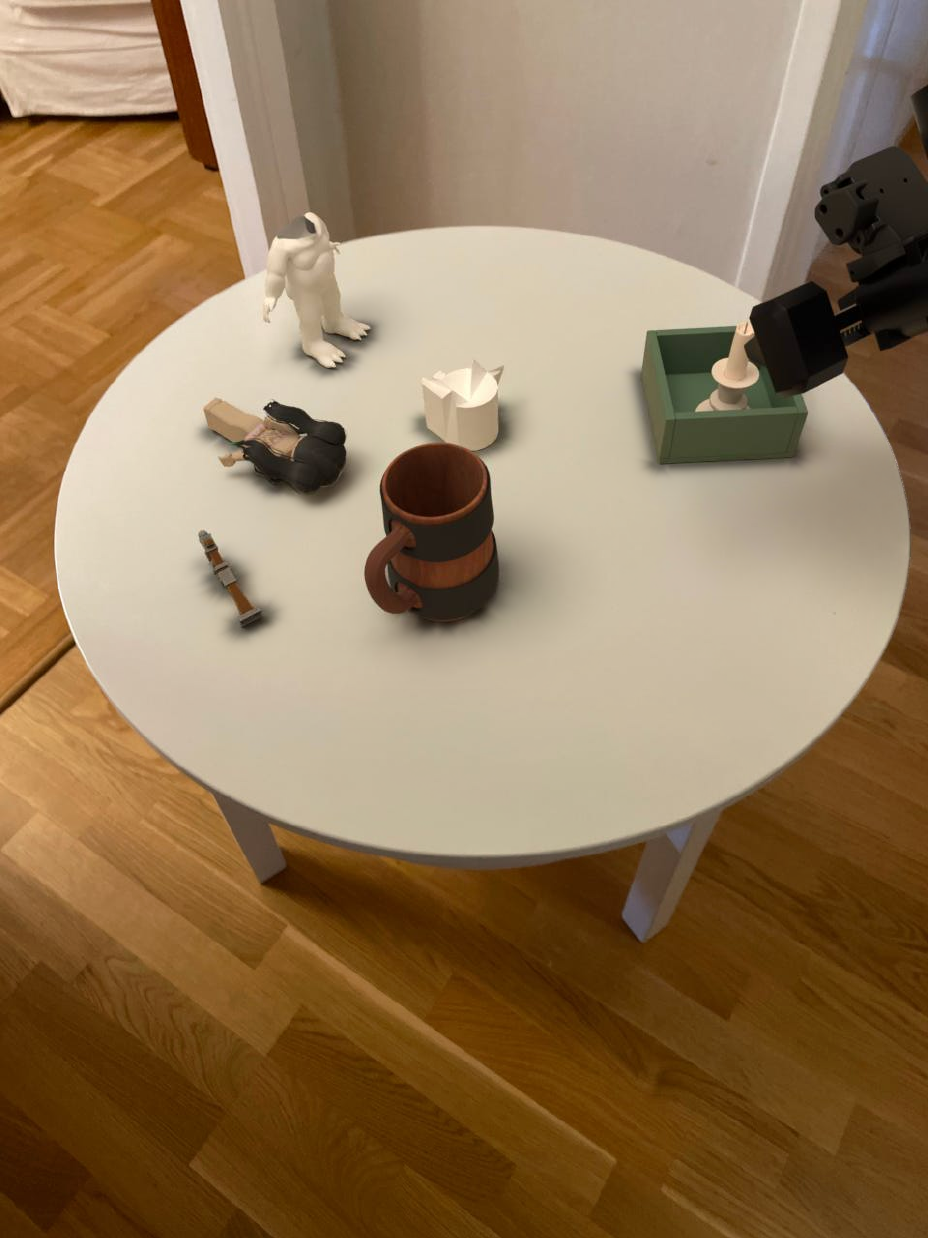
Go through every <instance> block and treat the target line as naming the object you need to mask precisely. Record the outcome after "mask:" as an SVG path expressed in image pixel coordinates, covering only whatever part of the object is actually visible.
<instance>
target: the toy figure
mask: <svg viewBox="0 0 928 1238" xmlns="http://www.w3.org/2000/svg"><path fill="white" fill-rule="evenodd" d="M271 400H272V401H271ZM202 410H203V413H204V417H205V421H206V424H207V427H208V429H209V430H212V431H215V432H216V433H218V434H219V435H221V436H222V437H224V438H226V439H228V440H229V441H230V443H229V444H228V445H229V446H237V447H238V446H241V447H242V450H239V451H235V452H233V453H231V452H230V451H226V452H225V454H224V455H223V456H221V455H218V456H217V459H218V460H219V461H220V463H221V464H222V466H223V467H225V468H231V467H234V465H235V464H236V462H245V461H247V462H250V463H251V464H253V467H254V468H253V469H254V471H255V472H256V473H257V474H256V473H254V475H255V476H257V477H260V478H262V476H261V475H263V478H264V479H266V480H267V481H268V482H269V483H270V484H272V485H275V486H276V485H279V484H281V483H282V484H283V483H284V484H287V485H289V486H290V488H292V489H293V490H294V491H295V492H297V494H300V495H304V496H306V495H307V496H308V495H312V494H315V493H316V492H317V491H319V489H320V488H321V487H323V488H327V487H333V486H334V485H335V484H336V483H337V482H338V481H339V479H340V477H341V475H342V473H343V471H344V470H345V468H346V466H347V449H346V446H345V444H346V442H347V436H348V435H347V433H348V432H347V430H346V429H345V427H343V425H342V424H340V423H339V422H337V421H336V422H335V421H328V420H324V419H319V420H318V419H317V418H312V417H311V416H310V415H309V414H308V413H307V411H305V410H304V409H301V407H296V406H290V405H286V404H283V403H280V402H278V401H276V400H275V399H272V398H271V399H269V402H268V403H267V405H264V406H263V408H262V411H264V413H265V416H264V417H263V418H264V419H262V418H260V417H259V416H257V415H254V414H250V413H246V412H243V411H242V410H240V409H239V408H237V407H236V406H234V405H233V404H230V403H229V402H228V401H226V400H223V399H222V398H219V397H214V398H213V399H211V400H210V401H209V402H208V403H207V404H205V405H204V407H203V409H202ZM301 435H302V436H301ZM258 474H259V475H258ZM300 492H301V493H300ZM304 493H305V494H304Z"/></svg>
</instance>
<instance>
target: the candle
mask: <svg viewBox="0 0 928 1238" xmlns="http://www.w3.org/2000/svg"><path fill="white" fill-rule="evenodd" d="M736 326H737V328H736V331H735V335H734V338H733V342H732V346H731V350H730V354H729V358H724V359H722V360H719V361H718V362H716V363H715V364H714V366H713V368H712V376H713V378H714V379H715V380H716V381H717V382H718V383H719V385H718V389H717V390H715V391H714V392H713V393H712V394H711V396H710V399H707V400H705V401H703V402H702V403H700V404H699V405H698V407H697V408H696V410H695V412H701V411H721V410H741V409H751V408H750V407H749V406H747V403H748V400H747V397H746V395H745V394H744V392H745V388H747V387H749V386H752V385H753V384H754V383H756V381H757V380H758V377H759V371H758V369H757V367H756V366H755V365H754V364H753V363H751V362H749V359H748V357H747V355H746V352H745V349H744V344H746V343H747V342H748V341H749V340H750V339H752V338H753V337H754V331H753V328H752V325H751V322H750V321H742V322H740V323H738V324H737V325H736Z"/></svg>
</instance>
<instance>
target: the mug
mask: <svg viewBox="0 0 928 1238" xmlns="http://www.w3.org/2000/svg"><path fill="white" fill-rule="evenodd" d="M491 478H492V477H491V474H490V470H489V467H488V466H487V464H486V463H485V462H484V461H483V460H482V459H481V458H480V457H479V456H478V455H477V454H475V453H474V451H470V450H468V449H466V448H464V447H462V446H459V445H455V444H450V443H446V442H429V443H428V442H427V443H423V444H420V445H416V446H413V447H411V448H409V449H406V450H404V451H403V452H401V453H400V454H399V455H397V456H396V457H394V459H393V460H391V462H390V463H389V465H388V466H387V467H386V469H385V471H384V472H383V474H382V476H381V479H380V483H379V496H380V503H381V512H382V521H383V522H382V523H383V531H384V533H385V536H384V537H383V538H382V539H381V540H379V542H378V543H377V544H376V545H374V547H372V549H371V550H370V552H369V554H368V556H367V558H366V560H365V564H364V569H363V570H364V572H363V575H364V582H365V586H366V589H367V591H368V594H369V596H370V597H371V599H372V600H373V602H374V603H375V604H376V606H378V607H379V608H380V609H381V610H382V611H384V612H385V613H388V614H391V615H400V614H403V613H405V612H407V611H408V612H409V613H412V614H414V615H416V616H417V617H420V618H422V619H424V620H428V621H429V620H430V621H434V622H452V621H456V620H460V619H463V618H466V617H468V616H470V615H472V614H474V613H475V612H476V611H479V610H480V609H482V607H484V606H485V605H486V604H487V603H488V602H489V601H490V600H491V598H492V597H493V595H494V594H495V592H496V589H497V587H498V583H499V580H500V579H499V578H500V577H499V576H500V566H499V565H500V564H499V563H500V562H499V553H498V547H497V540H496V536H495V533H494V531H493V526H494V524H495V512H494V505H493V495H492V480H491ZM386 568H387V574H388V580H387V575H386ZM388 581H389V582H388Z"/></svg>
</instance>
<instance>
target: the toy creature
mask: <svg viewBox="0 0 928 1238" xmlns="http://www.w3.org/2000/svg"><path fill="white" fill-rule="evenodd" d="M330 239H331V238H330V233H329V231H328V228H327V225H326V223H325V222H324V221H323V220H322V218H320V216H318V215H317V214H316V213H314V212H311V211H310V212H306V213H304V214H302V215H298V216H297V217H295V218H293V219H292V220H290V221H289V222H288V223H286V224H285V225H284V226H283V227H282V228H281V229H280V231H279V232H278V233H277V235H275V237H274V238H273V240H272V242H271V245H270V248H269V250H268V254H267V261H266V263H267V265H266V278H265V282H264V291H265V298H264V300H263V301H262V302H263V303H262V308H263V309H262V320H263V321H264V322H265V323H268V324H271V320H270V317H269V314H270V312H273V311H274V310H275V308H276V306H277V302H278V300H279V299H280V298H281V296H282V295H283V292H284V291H285V293H286V295H287V297H288V298H289V299H290V300H292V303H293V306H294V309H295V312H296V315H297V317H298V320H299V323H298V327H299V331H300V336H301V347H302V348H301V349H302V351H303V352H304V354H305V355H307V356H309V357H312V358H314V359H315V360H317V362H318V363H319V364H320V365H321V366H323V367H325V368H327V369H330V368H336V367H337V365H336V363H343V359H342V358H346V355H345V353H344V352H343V350H341V349H338V348H337V347H336V346H334V344H332V343H330V342H328V341H326V340H324V338H323V331H324V332H325V333H327V334H331V335H332V334H338V335H341V336H343V337H347V338H349V339H351V340H353V341H355V340H359V341H361V340H362V338H361V337H362V336H368V333H367V332H366V331H367V330H371V327H370V326H369V324H365V323H364V322H360V321H356V320H354V319H352V318H351V317H349V316H347V315H345V314H344V313H343V312H342V308H341V307H342V305H341V299H342V294H341V291H340V287H339V284H338V281H337V278H336V274H335V265H336V262H335V261H336V260H335V253H334V251H335V252H336V254H338V255H340V254H341V252H340V249H339V248H338V247H337V246H341V242H339V241H336V242H333V241H331V240H330Z"/></svg>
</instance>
